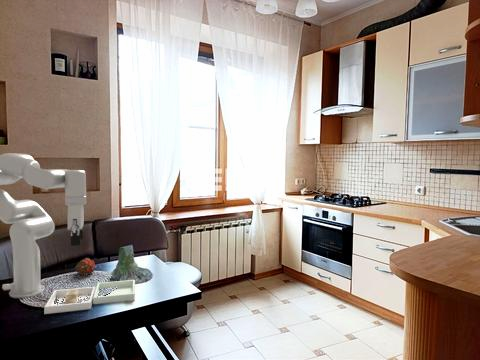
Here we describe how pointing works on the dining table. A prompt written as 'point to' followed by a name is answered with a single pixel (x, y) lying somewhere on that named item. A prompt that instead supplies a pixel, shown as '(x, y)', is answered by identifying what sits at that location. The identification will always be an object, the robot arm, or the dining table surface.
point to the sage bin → (116, 292)
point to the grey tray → (55, 308)
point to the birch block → (71, 297)
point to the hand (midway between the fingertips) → (77, 242)
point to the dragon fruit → (85, 266)
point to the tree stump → (129, 267)
